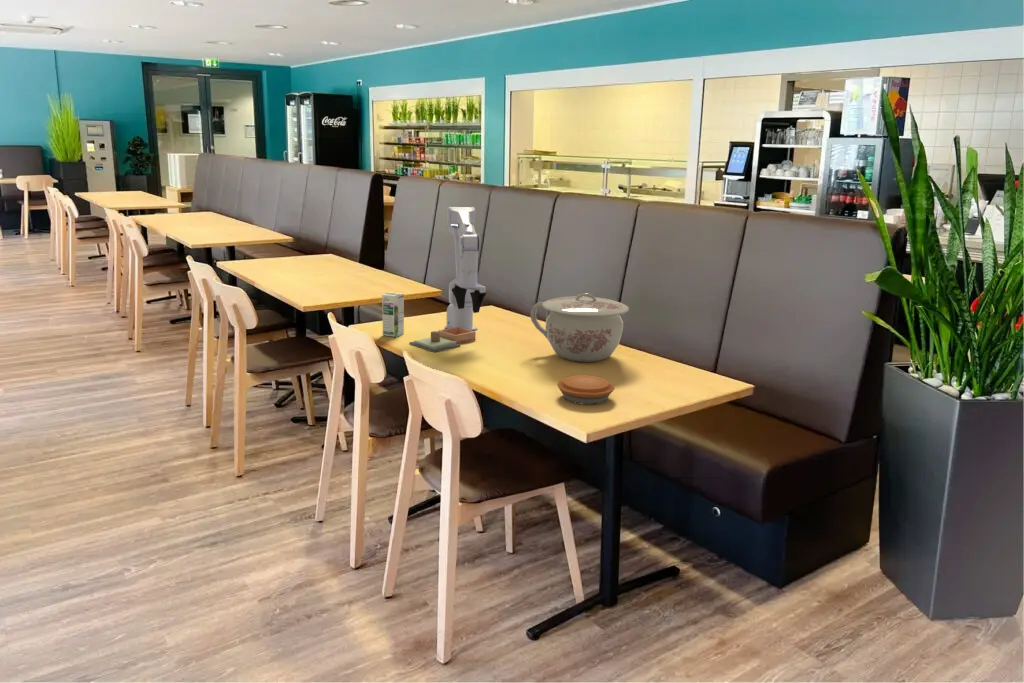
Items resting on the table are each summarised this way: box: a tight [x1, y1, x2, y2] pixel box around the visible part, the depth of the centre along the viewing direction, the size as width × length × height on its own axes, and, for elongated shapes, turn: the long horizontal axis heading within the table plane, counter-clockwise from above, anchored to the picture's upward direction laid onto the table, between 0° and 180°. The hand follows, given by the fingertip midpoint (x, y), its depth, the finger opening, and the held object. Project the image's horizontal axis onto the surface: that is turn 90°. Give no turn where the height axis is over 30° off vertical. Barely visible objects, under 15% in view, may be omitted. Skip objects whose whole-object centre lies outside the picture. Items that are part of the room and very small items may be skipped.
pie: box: [556, 374, 615, 405], centre depth 209 cm, size 15×16×5 cm
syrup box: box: [381, 291, 405, 338], centre depth 267 cm, size 6×6×14 cm
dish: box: [437, 327, 476, 345], centre depth 264 cm, size 9×9×3 cm
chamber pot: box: [530, 292, 630, 363], centre depth 246 cm, size 28×28×21 cm
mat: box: [408, 340, 461, 353], centre depth 257 cm, size 13×11×1 cm
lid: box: [414, 330, 456, 349], centre depth 256 cm, size 10×10×4 cm
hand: (468, 310), depth 262 cm, fingers open, 7 cm apart
